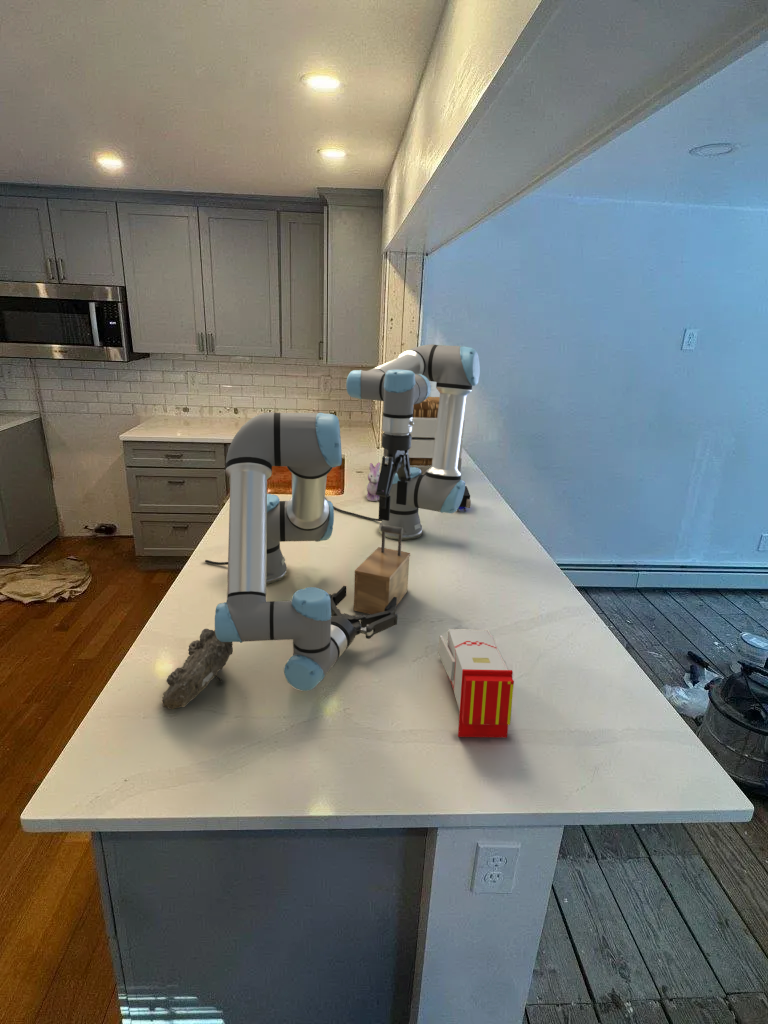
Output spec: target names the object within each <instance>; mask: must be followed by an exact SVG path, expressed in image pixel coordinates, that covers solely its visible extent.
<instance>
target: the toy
mask: <svg viewBox="0 0 768 1024" xmlns="http://www.w3.org/2000/svg"><path fill="white" fill-rule="evenodd" d="M446 640H447V643H446V641H445V639H444V636H443V635H442V634H439V637H438V646H437V656H438V657H439V659H440V661H441V663H442V666H443V668H444V670H445V672H446V674H447V677H448V679H449V681H450V684H451V687H452V690H453V693H454V697H455V701H456V705H457V708H458V711H459V714H458V715H459V716H458V730H457V731H458V732H457V737H458V738H508V731H509V726H510V725H511V717H512V707H513V697H514V696H513V695H514V684H515V680H514V679H513V673H514V671H513V670H512V669H508V667H507V665H506V662H505V661H504V659H503V658H502V655H501V653H500V651H499V649H498V647H497V643H496V639H495V637H494V635H493V634H491V632H490V631H489V629H467V628H466V629H465V628H463V629H461V628H460V629H459V628H448V630H447V639H446Z"/></svg>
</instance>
